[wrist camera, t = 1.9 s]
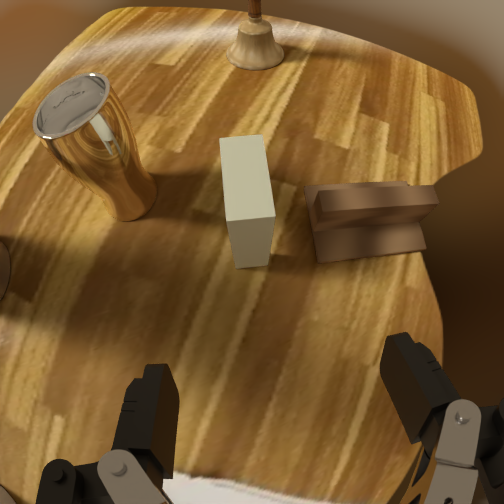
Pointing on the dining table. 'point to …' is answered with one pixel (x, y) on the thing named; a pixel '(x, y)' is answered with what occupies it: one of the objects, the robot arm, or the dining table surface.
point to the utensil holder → (5, 497)
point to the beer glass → (96, 144)
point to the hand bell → (255, 42)
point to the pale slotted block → (247, 199)
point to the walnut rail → (367, 218)
